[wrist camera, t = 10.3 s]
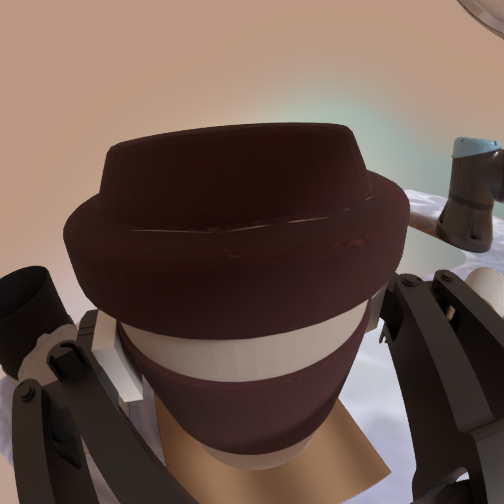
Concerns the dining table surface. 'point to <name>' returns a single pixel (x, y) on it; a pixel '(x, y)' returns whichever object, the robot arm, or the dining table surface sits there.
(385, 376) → the dining table surface
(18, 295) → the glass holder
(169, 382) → the coffee cup
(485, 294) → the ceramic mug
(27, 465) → the robot arm
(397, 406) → the dining table surface
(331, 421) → the walnut slab
